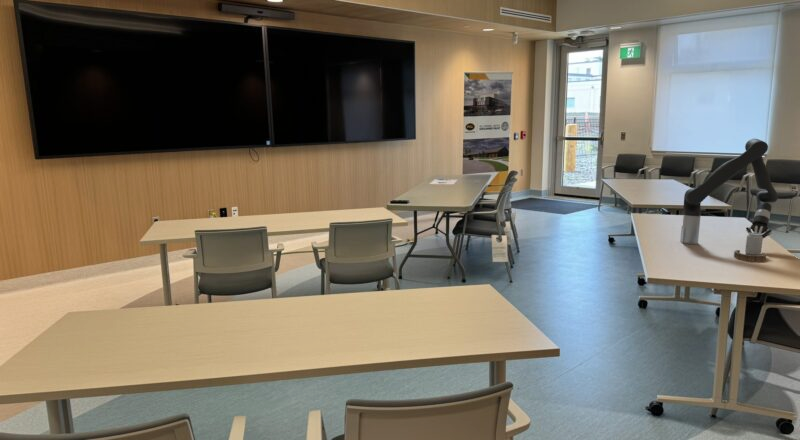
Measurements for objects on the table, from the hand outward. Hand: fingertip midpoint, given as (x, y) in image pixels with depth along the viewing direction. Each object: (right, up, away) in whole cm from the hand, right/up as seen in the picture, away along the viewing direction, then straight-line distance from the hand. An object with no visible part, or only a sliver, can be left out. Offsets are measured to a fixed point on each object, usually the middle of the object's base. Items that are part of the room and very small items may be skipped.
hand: (755, 242), depth 309 cm
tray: (-12, -8, -12) cm, 18 cm away
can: (-4, -6, -4) cm, 9 cm away
